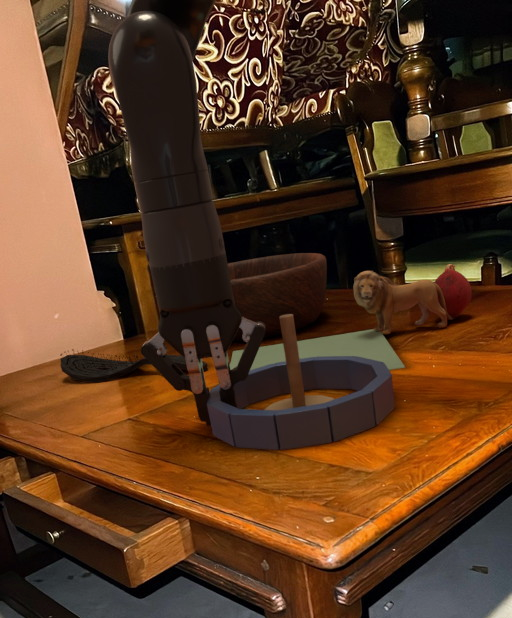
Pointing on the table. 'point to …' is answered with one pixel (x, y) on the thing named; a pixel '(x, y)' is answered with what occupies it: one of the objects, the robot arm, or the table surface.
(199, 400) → the robot arm
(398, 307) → the lion figurine
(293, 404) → the dowel stand
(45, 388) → the table surface
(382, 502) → the table surface
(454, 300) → the onion
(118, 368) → the hairbrush
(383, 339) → the green mat
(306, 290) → the wooden bowl
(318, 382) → the blue ring
